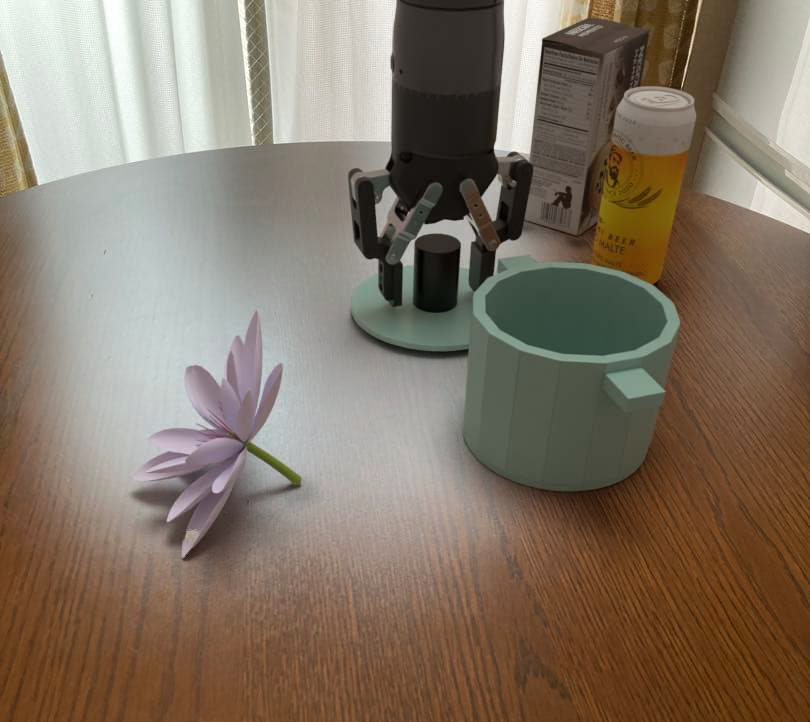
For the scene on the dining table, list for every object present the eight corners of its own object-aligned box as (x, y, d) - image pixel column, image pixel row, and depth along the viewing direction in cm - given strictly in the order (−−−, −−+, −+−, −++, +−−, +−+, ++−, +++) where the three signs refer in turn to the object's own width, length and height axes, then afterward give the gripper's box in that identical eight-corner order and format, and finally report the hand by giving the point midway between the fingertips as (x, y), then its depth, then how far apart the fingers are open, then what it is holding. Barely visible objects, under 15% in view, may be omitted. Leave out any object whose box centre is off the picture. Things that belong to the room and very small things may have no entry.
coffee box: (564, 191, 95) (588, 15, 84) (621, 207, 92) (654, 27, 81) (519, 220, 89) (539, 35, 78) (578, 237, 87) (607, 49, 76)
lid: (479, 267, 82) (484, 199, 77) (546, 342, 72) (556, 270, 68) (331, 288, 78) (328, 218, 74) (381, 370, 69) (381, 295, 65)
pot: (576, 353, 71) (596, 235, 65) (706, 495, 59) (747, 366, 52) (423, 380, 68) (428, 258, 61) (526, 536, 55) (546, 403, 49)
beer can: (575, 270, 82) (603, 89, 71) (633, 259, 83) (668, 81, 73) (613, 300, 77) (648, 113, 67) (672, 288, 79) (716, 104, 69)
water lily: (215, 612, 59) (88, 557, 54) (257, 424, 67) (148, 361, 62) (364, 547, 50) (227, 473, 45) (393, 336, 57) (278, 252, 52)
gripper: (362, 98, 58) (364, 332, 70) (566, 80, 62) (537, 305, 73) (330, 64, 64) (337, 287, 75) (519, 50, 67) (499, 264, 79)
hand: (436, 295), depth 74 cm, fingers open, 6 cm apart
